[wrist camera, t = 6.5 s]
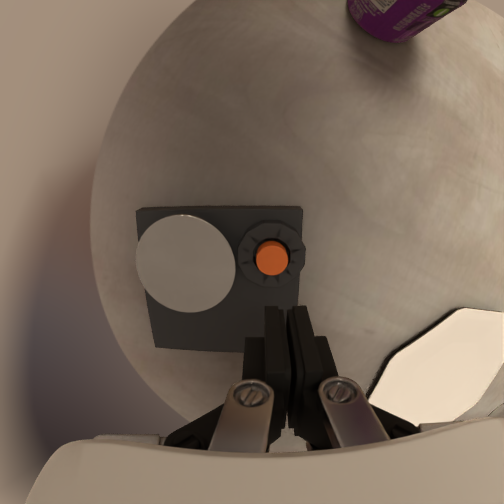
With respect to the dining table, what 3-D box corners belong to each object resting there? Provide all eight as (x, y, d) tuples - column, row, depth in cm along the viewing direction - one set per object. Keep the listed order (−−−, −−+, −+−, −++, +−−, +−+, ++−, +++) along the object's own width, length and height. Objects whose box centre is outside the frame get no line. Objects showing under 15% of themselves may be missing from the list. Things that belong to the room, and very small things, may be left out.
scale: (159, 338, 30) (151, 355, 27) (142, 207, 25) (128, 214, 22) (293, 343, 29) (296, 361, 26) (302, 206, 25) (307, 213, 22)
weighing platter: (144, 307, 25) (142, 310, 25) (132, 215, 22) (129, 216, 22) (237, 312, 25) (236, 314, 24) (235, 213, 22) (234, 214, 22)
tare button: (256, 269, 24) (256, 275, 23) (256, 240, 23) (256, 245, 22) (286, 269, 24) (287, 275, 22) (287, 240, 23) (288, 245, 22)
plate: (411, 295, 27) (417, 302, 26) (522, 311, 28) (527, 315, 27) (338, 437, 35) (340, 445, 33) (452, 425, 35) (455, 430, 34)
